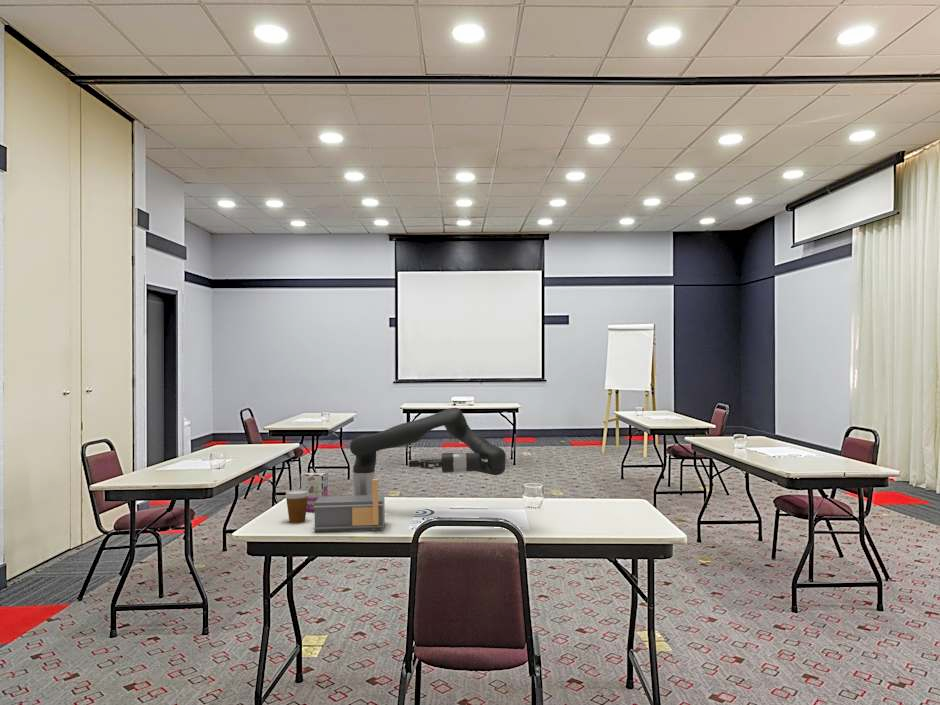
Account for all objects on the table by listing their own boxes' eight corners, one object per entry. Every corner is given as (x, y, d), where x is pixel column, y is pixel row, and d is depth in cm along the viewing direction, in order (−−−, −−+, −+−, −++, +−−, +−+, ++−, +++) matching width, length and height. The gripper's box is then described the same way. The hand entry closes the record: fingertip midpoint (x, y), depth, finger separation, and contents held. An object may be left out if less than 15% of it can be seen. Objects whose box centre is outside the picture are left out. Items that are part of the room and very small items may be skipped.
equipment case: (319, 523, 263) (319, 496, 263) (384, 522, 265) (384, 494, 265) (313, 532, 250) (313, 504, 250) (382, 530, 251) (382, 502, 251)
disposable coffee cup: (284, 519, 271) (284, 490, 272) (307, 517, 275) (307, 488, 275) (286, 524, 262) (286, 494, 263) (310, 522, 266) (310, 492, 266)
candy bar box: (328, 510, 288) (328, 473, 288) (323, 512, 283) (322, 474, 283) (306, 509, 291) (306, 472, 291) (300, 511, 286) (299, 473, 286)
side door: (352, 525, 252) (352, 478, 252) (378, 524, 253) (378, 478, 253) (351, 527, 248) (351, 480, 248) (378, 526, 249) (377, 479, 249)
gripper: (453, 450, 259) (409, 451, 258) (454, 455, 246) (408, 456, 244) (453, 469, 259) (409, 470, 258) (455, 475, 246) (408, 476, 244)
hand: (409, 463), depth 251 cm, fingers closed
